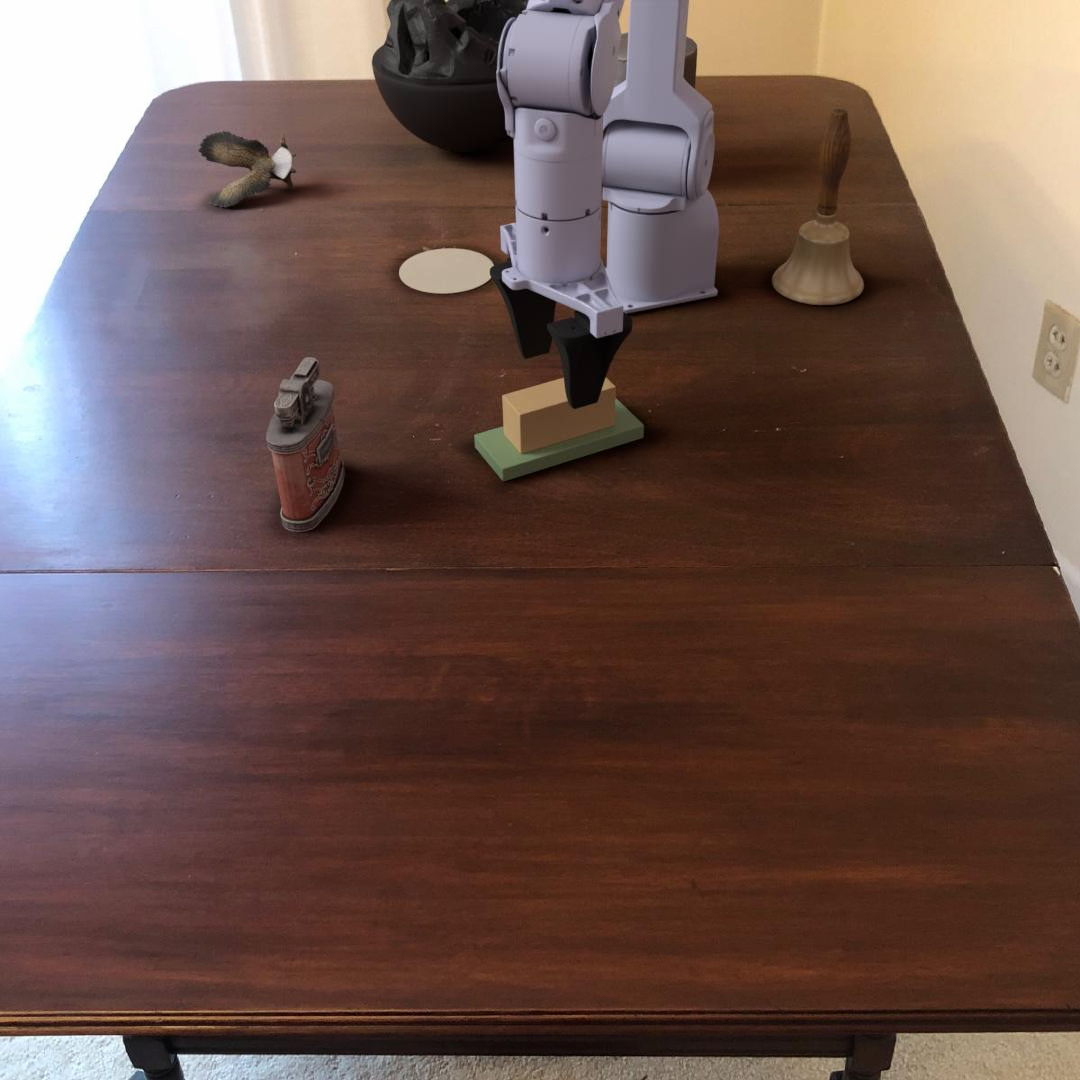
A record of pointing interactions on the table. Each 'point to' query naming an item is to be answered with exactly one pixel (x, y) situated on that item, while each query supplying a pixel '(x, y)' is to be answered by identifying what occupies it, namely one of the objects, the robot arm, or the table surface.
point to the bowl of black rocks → (446, 70)
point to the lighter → (305, 448)
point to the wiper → (554, 429)
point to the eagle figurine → (246, 165)
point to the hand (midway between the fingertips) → (558, 378)
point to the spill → (446, 271)
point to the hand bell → (824, 233)
